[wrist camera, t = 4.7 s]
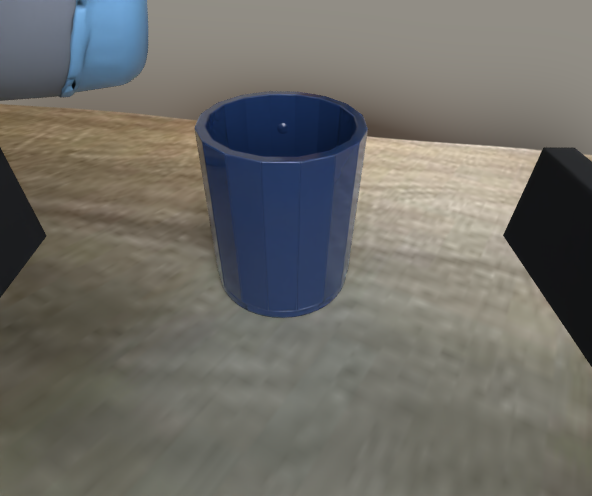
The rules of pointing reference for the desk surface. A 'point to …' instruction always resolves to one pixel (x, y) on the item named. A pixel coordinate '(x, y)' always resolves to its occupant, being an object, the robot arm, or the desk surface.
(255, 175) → the mug
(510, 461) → the desk surface
